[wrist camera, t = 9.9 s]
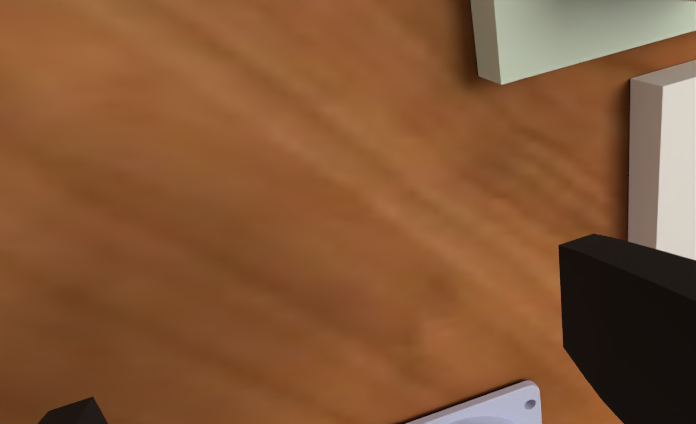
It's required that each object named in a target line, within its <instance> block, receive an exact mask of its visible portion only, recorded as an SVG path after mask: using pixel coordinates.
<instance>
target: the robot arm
mask: <svg viewBox="0 0 696 424" xmlns="http://www.w3.org/2000/svg"><path fill="white" fill-rule="evenodd" d="M559 265H560V286H561V307H562V328H563V347H564V349H565V350H566V351H567V353H568V354H569V356H570V357H571V358H572V360H573V361H574V363H575V364H576V366H577V367H578V368H579V370H580V371H581V373H582V374H583V375H584V377H585V378H586V379H587V381H588V382H589V383H590V385H591V386H592V387H593V389H594V390H595V391H596V393H597V394H598V395H599V397H600V398H601V399H602V400H603V402H604V403H605V404H606V405H607V406H608V407H609V408H610V409H611V410H612V411H613V412H614V414H615V415H616V416H617V417H618V418H619V419H620V420H621V421H622V422H623V423H624V424H696V260H693V259H689V258H686V257H682V256H679V255H675V254H672V253H668V252H664V251H661V250H657V249H654V248H650V247H647V246H643V245H639V244H635V243H632V242H628V241H624V240H620V239H616V238H612V237H607V236H602V235H597V234H591V235H588V236H585V237H582V238H579V239H576V240H573V241H570V242H567V243H564V244H561V245H559ZM527 401H528V402H527ZM38 424H108V423H107V421H106V419H105V418H104V416H103V414H102V412H101V410H100V408H99V407H98V405H97V403H96V401H95V399H94V397H91V398H87V399H84V400H81V401H78V402H75V403H72V404H69V405H66V406H63V407H60V408H57V409H54V410H51V411H48V413H47V414H46V415H45V416H44V417H43V418H42V419H41V421H40V422H39V423H38ZM406 424H542V416H541V402H540V391H539V388H538V387H537V385H536V384H535V383H534V382H533V381H529V380H528V381H523V382H520V383H518V384H515V385H512V386H509V387H506V388H504V389H501V390H498V391H495V392H492V393H490V394H487V395H484V396H481V397H478V398H476V399H473V400H470V401H467V402H465V403H462V404H459V405H456V406H453V407H451V408H448V409H445V410H442V411H439V412H437V413H434V414H431V415H428V416H425V417H423V418H420V419H417V420H414V421H411V422H409V423H406Z"/></svg>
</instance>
